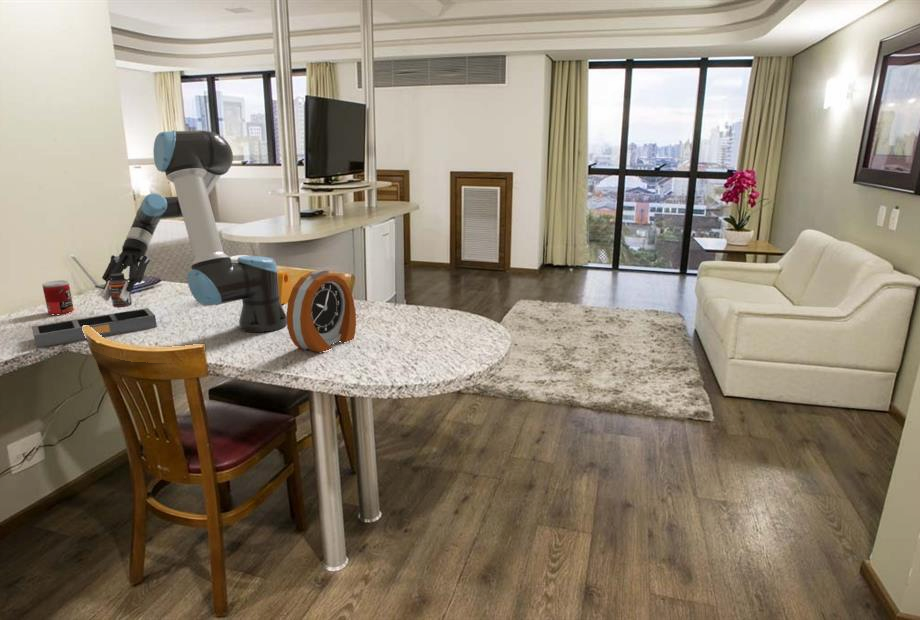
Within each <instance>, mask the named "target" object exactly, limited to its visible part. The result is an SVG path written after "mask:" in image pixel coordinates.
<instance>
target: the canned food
mask: <svg viewBox="0 0 920 620" xmlns="http://www.w3.org/2000/svg"><path fill="white" fill-rule="evenodd" d="M41 286H42V290H43V295H44V300H45V303H46V310H47V312H48V314H49V315H50V314H54V315H53V316H58V315H57V314H65V315H67V314H66V313H69V312H72V311H73V312H74V310H75V309H74V304H73V297H72V293H71V288H70V283H69V281H68V280H61V279H60V280H51V281H46V282H44V283H42V285H41ZM73 312H72V313H73ZM69 314H70V313H69Z"/></svg>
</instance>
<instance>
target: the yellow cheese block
mask: <svg viewBox="0 0 920 620" xmlns="http://www.w3.org/2000/svg"><path fill="white" fill-rule="evenodd" d="M277 271H278V273H277V276H278V287H279V299H280V303H281V305H284V304H285V305H288V300H289V297H290V294H291V292H292V289H293V287H294V286H293V284H292V279H291V277H290V274H289V272H288V271H284V270H283V271H282V270H277Z"/></svg>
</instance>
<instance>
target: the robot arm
mask: <svg viewBox="0 0 920 620" xmlns="http://www.w3.org/2000/svg"><path fill="white" fill-rule="evenodd" d="M233 155H234V154H233V151H232V147H231V146H230V144H229V142H228V141H227V140H226V139H225V138H224V137H222V136H221V135H220V134H218V133H216V132H213V131H210V130H202V131H201V130H197V131H194V130H193V131H191V130H185V131H183V130H179V131H178V130H171V131H161V132H159V133H158V134H157V135H156V136H155V138H154V143H153V161H154V165H155V168H156V170H157V171H159V172H161V173H165V177H166V180H168V181H170V182H171V183H173V185H174V190H175V192H176V196H163V195H162V194H159V193H152V192H151V193H148V194H147V195H146V196H145V197H144V199H143V200H142V201H141V203H140V206H139V208H138V209H137V211H136V215H135V216H134V219H133V221H132V224H131V225H130V229H129V231H128V233H127V235H126V237H125V240H124V242H123V245H122V248H121V250H122V251H121V253H120V254H118V255H117V256H115V255H114V254H113V255H111V256H110V262H109V263H108V265H107V267H106V269H105V272H104V273H103V275H102V277H101V279H102V280H103V281H105V284H104V286H103V292H102V295H101V298H102V299H103V300H105V301H106V302H109V300H110V299H111V294H110V288H109V282H110V281H111V274H115V273H123V271H124V270H126V269H127V268H128V267H129V272H128V278H127V280H128V281H126V282H125V285H124V287H123V289H122V292H121V294H120V298H121V299H122V300H123V301H126V300H127V298H128V295H129V293H130V294H131V292H133V289H134V286H135V285H136V284H140V283H142V281H143V278H144V276H145V272H146V269H147V266H148V264H149V263H150V262H151V259H150V258H149V257H148V256H146V254H147V251H148V248H149V246H150V243H151V241H152V238H153V235H154V233H155V230H156V229H157V226H158V225H159V223H160V222H161V220H166V219H175V218H183V222H184V225H185V230H186V233H187V236H188V239H189V243H190V247H191V250H192V254H193V257H194V259H193V261H192V263H191V264H190V267H191V270H189V271H188V272H187V285H188V288H189V291H190V293H191V295H192V296H193V299H195V301H197V303H198V304H200V305H202V306H203V307H204V306H205V307H210V306H219V305H221V304H226V303H231V302H235V301H240V300H242V306H241V311H240V315H239V319H238V327H239V330H241V329H242V330H241V331H243V330H245V331H244V332H246V331H251V332H250V333H265V332H264V331H268V332H272V331H277V330H280V329H283V328H284V327H287V316H286V315H287V313H285V310H284V307H283V306H282V305H283V304H281V303H280V299H279V287H278V276H277V273H278V271H279V270H278V269H277V268H278V267H277V262H276V261H275V259H273V258H271V257H267V256H260V255H257V256H256V255H248V256H242V257H239V258H238V260H237V262H238V263H233V264H232V262H231V258H230V257H231V256H230V255H228V254H226V253H225V252H224V249H223V245H222V242H221V238H220V234H219V231H218V228H217V227H218V226H217V224H216V220H215V216H214V213H213V209H212V205H211V201H210V197H209V195H210V194H211V192H212V190H213V189H214V187H215V185H216V184H217V183H218V181H219V180H220V178H221V176H223V175H226V174H227V173H228V171H229V170H230V168H231V167H232V165H233V160H234V156H233Z"/></svg>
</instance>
